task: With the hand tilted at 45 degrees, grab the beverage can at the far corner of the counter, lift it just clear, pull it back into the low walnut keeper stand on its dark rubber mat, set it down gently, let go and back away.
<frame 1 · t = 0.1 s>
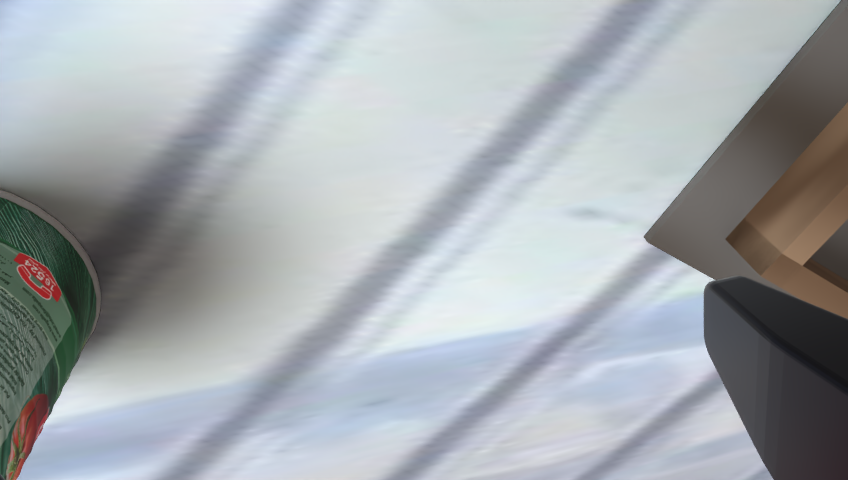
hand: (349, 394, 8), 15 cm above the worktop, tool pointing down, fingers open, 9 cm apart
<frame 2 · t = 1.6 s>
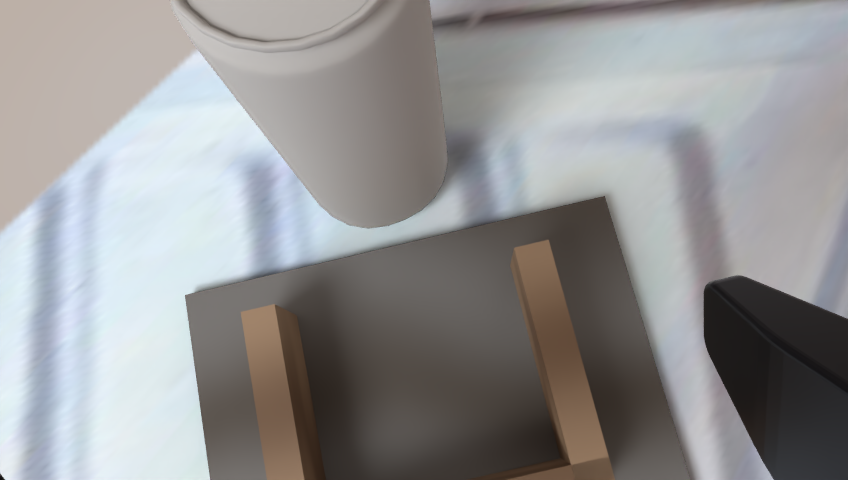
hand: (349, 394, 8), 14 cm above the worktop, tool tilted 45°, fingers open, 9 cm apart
keeper: (421, 368, 22), on the worktop
beverage can: (379, 167, 24), on the worktop
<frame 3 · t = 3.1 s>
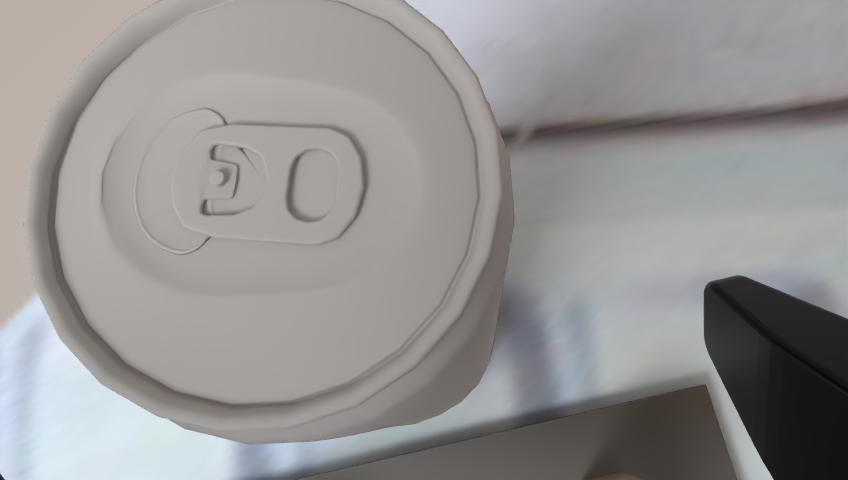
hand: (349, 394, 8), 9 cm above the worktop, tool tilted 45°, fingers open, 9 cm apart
beverage can: (401, 332, 18), on the worktop
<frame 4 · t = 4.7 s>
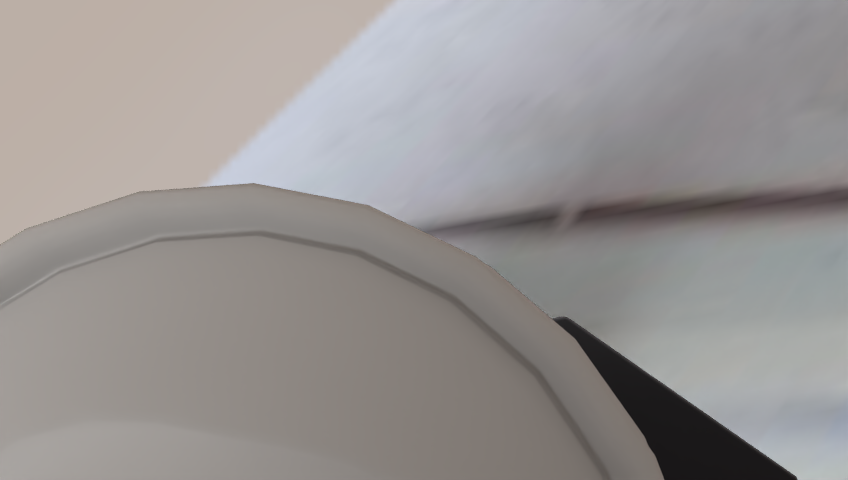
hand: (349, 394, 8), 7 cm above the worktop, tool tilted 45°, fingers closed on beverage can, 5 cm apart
beverage can: (419, 466, 15), on the worktop, touching gripper
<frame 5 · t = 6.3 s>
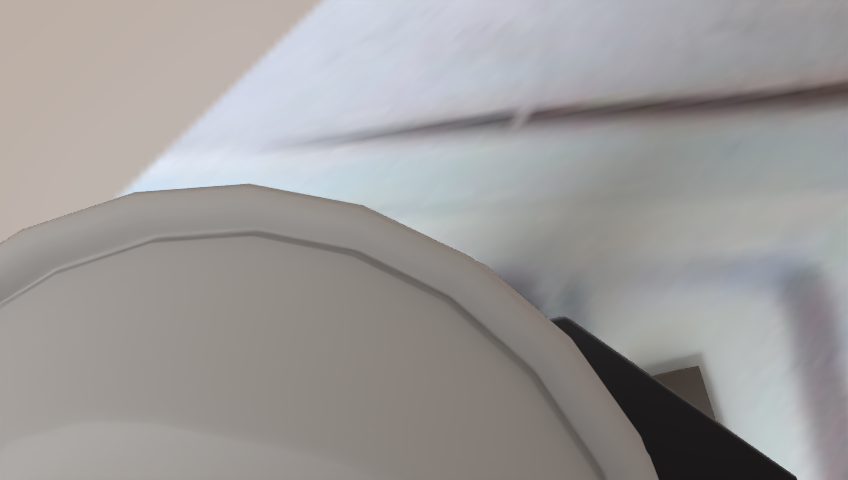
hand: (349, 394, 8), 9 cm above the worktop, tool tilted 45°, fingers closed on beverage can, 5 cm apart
beverage can: (420, 464, 15), point 3 cm above the worktop, touching gripper
when the fingers open (7 cm above the worktop, at t = 8.2 s): beverage can stays where it is, resting on keeper.
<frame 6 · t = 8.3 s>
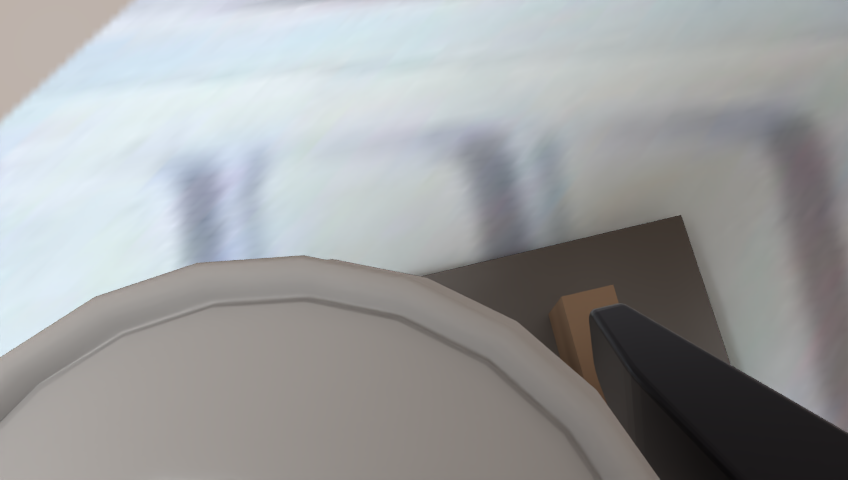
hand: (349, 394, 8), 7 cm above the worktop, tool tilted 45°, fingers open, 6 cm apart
keeper: (421, 462, 15), on the worktop
beverage can: (427, 472, 15), resting on keeper
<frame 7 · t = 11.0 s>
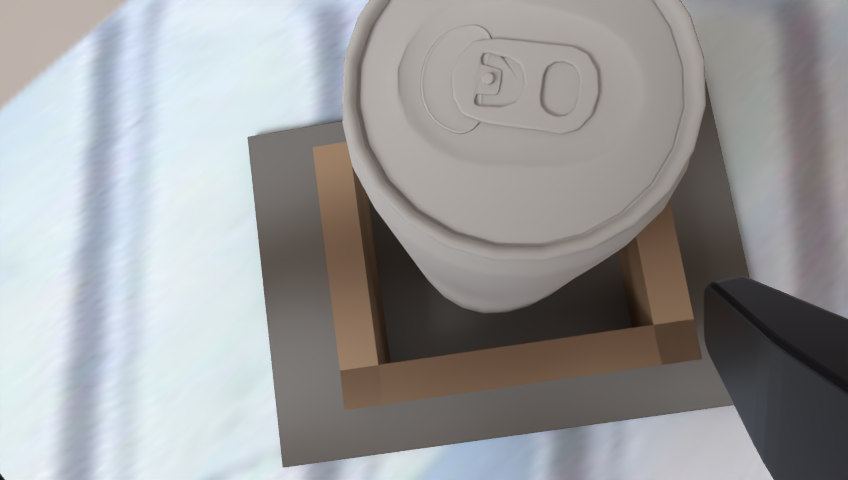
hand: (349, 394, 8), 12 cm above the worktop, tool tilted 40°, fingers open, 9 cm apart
keeper: (490, 229, 21), on the worktop
beverage can: (495, 235, 21), resting on keeper
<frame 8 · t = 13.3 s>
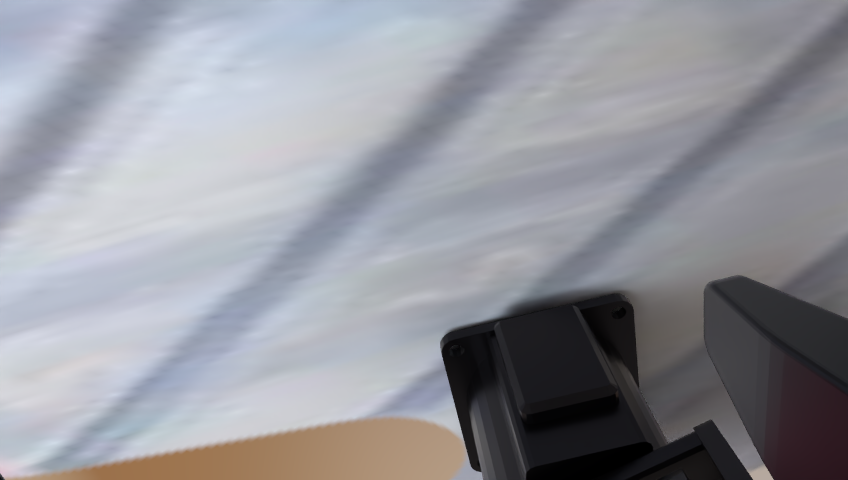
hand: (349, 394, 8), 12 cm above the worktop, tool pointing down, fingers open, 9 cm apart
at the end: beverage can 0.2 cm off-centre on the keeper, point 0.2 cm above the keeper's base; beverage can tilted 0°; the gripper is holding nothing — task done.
